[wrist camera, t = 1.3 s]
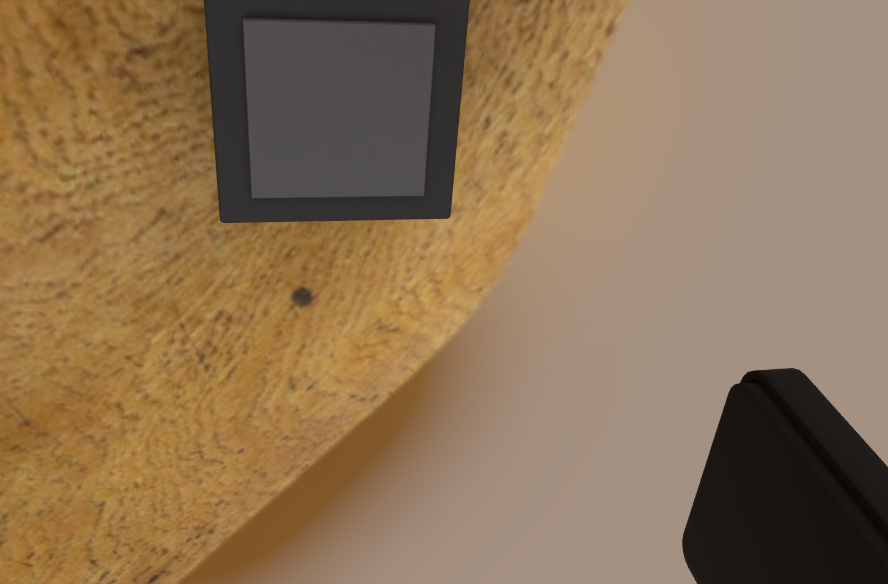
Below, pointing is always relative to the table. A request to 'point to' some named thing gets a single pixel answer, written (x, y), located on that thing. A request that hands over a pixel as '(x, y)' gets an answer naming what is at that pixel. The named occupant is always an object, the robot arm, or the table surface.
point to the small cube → (335, 107)
